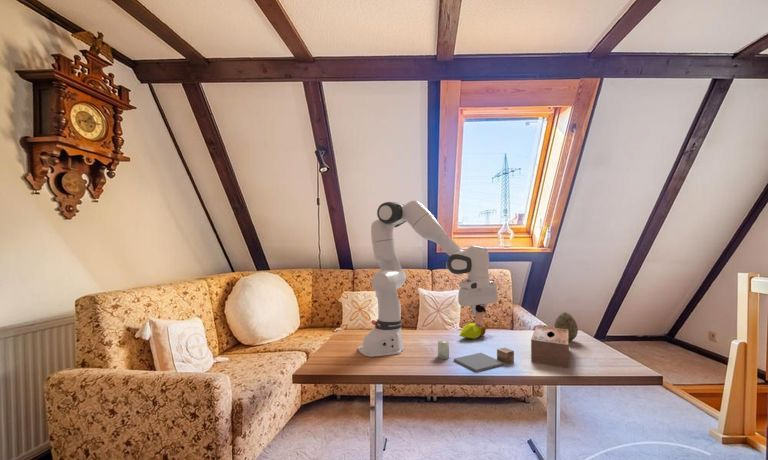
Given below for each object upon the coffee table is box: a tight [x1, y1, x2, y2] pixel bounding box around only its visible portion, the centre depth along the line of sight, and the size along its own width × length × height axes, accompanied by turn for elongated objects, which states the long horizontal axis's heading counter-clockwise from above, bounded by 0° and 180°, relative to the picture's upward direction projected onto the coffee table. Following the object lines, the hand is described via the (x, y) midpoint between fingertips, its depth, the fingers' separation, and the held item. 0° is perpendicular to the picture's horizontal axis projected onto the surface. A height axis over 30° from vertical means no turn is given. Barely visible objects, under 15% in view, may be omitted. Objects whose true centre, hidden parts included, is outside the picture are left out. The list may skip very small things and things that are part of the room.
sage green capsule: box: [437, 339, 450, 360], centre depth 157 cm, size 5×5×7 cm
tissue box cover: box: [530, 325, 570, 369], centre depth 159 cm, size 26×14×10 cm, turn 152°
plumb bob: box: [459, 319, 494, 340], centre depth 187 cm, size 9×9×25 cm
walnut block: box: [496, 347, 515, 365], centre depth 152 cm, size 5×5×5 cm
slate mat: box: [453, 352, 505, 373], centre depth 150 cm, size 16×14×1 cm
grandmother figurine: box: [470, 304, 488, 327], centre depth 151 cm, size 8×4×13 cm, turn 56°
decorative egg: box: [553, 311, 579, 342], centre depth 180 cm, size 11×11×15 cm
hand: (478, 314), depth 151 cm, fingers closed on grandmother figurine, 3 cm apart
